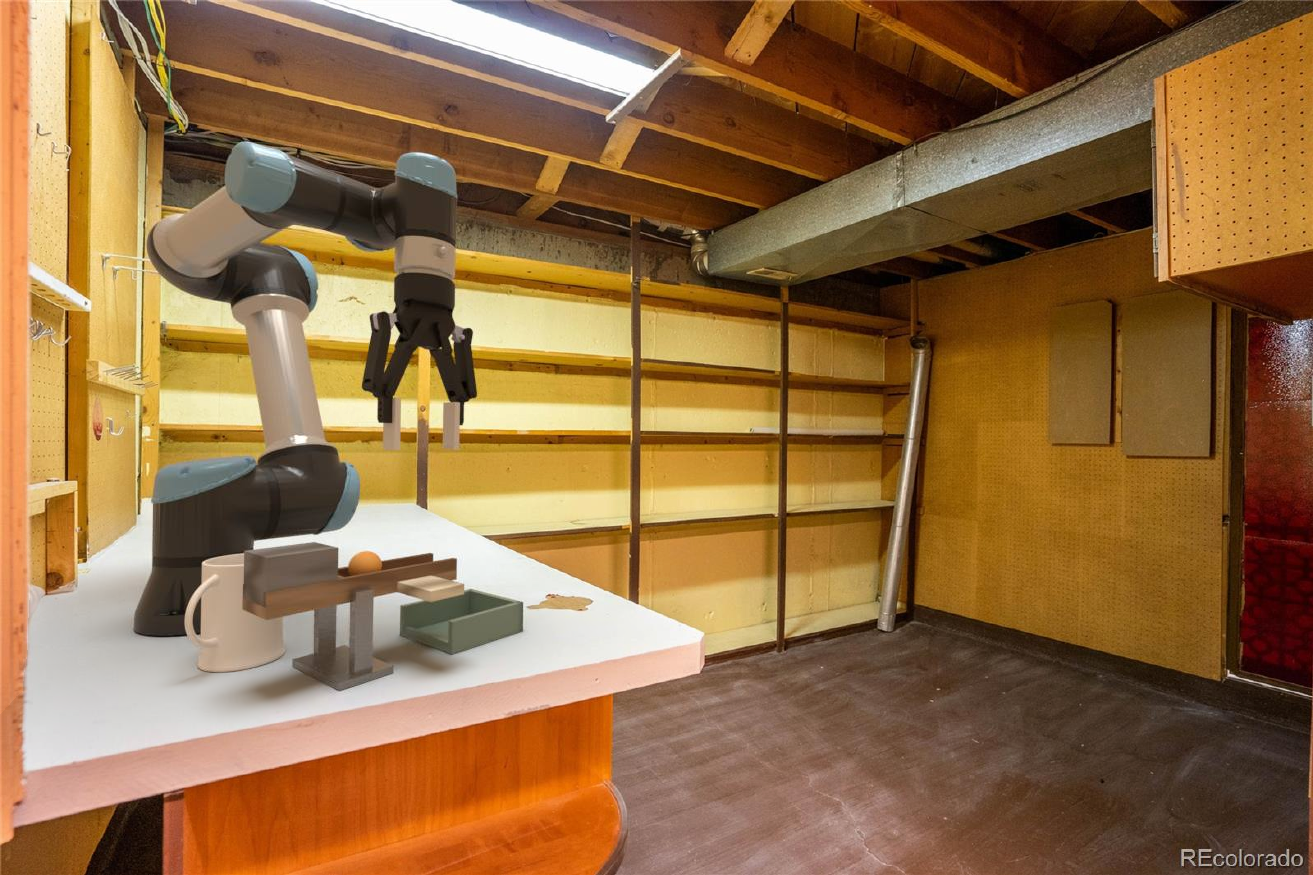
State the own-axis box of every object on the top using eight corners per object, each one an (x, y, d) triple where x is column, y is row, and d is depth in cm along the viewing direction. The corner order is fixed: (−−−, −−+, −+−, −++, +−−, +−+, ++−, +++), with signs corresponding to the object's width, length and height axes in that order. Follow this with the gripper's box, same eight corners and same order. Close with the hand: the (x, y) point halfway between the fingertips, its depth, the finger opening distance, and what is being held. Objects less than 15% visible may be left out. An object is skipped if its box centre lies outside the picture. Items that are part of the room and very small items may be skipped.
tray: (399, 635, 79) (400, 605, 79) (470, 615, 88) (471, 588, 88) (452, 654, 72) (452, 622, 72) (522, 630, 82) (523, 602, 82)
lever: (241, 609, 62) (242, 550, 62) (428, 572, 80) (429, 527, 80) (297, 634, 54) (298, 567, 54) (490, 587, 72) (491, 537, 72)
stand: (292, 666, 68) (293, 581, 68) (344, 651, 73) (345, 572, 73) (339, 690, 62) (340, 597, 62) (393, 672, 67) (394, 586, 67)
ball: (341, 582, 69) (342, 551, 69) (371, 576, 72) (372, 547, 72) (357, 587, 67) (358, 555, 67) (387, 581, 70) (388, 551, 70)
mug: (212, 688, 62) (214, 574, 62) (147, 680, 64) (149, 570, 64) (301, 649, 74) (303, 553, 74) (244, 643, 75) (246, 550, 75)
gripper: (362, 251, 67) (358, 450, 67) (506, 290, 84) (503, 449, 84) (330, 262, 71) (327, 449, 71) (473, 297, 88) (470, 448, 88)
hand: (422, 449), depth 77 cm, fingers open, 8 cm apart
